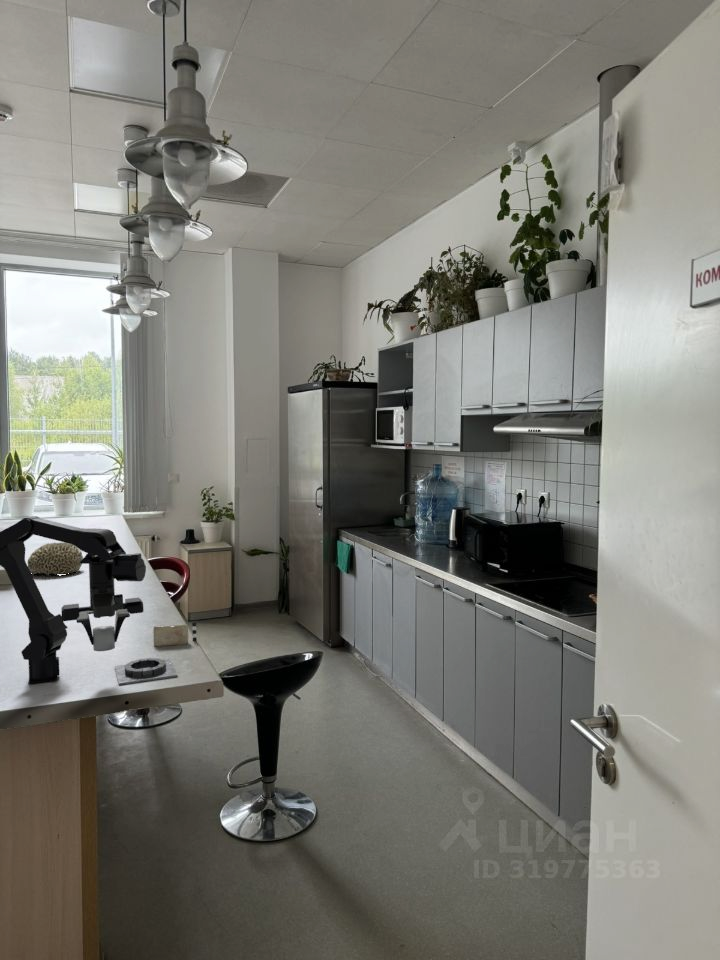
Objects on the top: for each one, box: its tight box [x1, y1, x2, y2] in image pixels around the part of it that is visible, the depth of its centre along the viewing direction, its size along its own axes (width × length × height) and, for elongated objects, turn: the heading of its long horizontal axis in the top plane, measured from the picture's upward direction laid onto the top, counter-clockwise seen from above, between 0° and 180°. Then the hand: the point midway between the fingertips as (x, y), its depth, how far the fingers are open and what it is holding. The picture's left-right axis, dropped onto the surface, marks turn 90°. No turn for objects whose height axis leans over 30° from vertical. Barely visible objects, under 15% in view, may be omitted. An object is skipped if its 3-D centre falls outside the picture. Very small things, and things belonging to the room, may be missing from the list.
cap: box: [92, 625, 116, 652], centre depth 165 cm, size 5×5×5 cm
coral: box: [27, 542, 84, 576], centre depth 303 cm, size 23×18×15 cm
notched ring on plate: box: [114, 657, 179, 686], centre depth 172 cm, size 14×14×2 cm
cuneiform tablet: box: [152, 622, 197, 647], centre depth 196 cm, size 6×4×12 cm
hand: (104, 643), depth 166 cm, fingers closed on cap, 5 cm apart
